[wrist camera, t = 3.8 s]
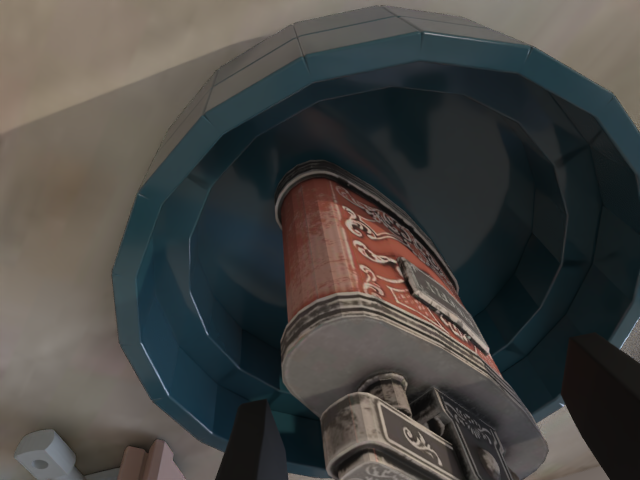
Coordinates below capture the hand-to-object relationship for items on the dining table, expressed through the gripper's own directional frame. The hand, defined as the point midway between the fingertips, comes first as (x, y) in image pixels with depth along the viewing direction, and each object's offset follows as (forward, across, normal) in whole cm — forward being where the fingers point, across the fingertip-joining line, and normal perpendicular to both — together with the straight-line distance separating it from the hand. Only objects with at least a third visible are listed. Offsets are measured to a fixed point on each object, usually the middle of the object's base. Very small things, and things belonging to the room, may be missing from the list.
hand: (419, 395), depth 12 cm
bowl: (+7, 0, 0) cm, 7 cm away
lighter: (+7, 0, 0) cm, 7 cm away
